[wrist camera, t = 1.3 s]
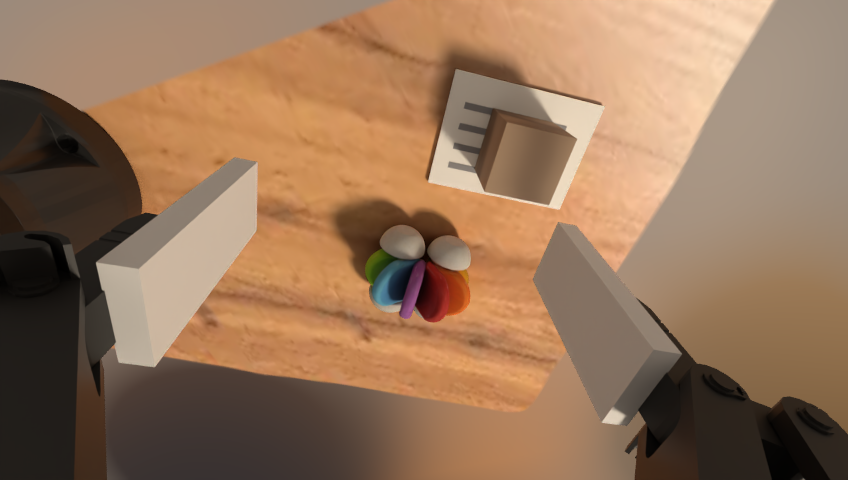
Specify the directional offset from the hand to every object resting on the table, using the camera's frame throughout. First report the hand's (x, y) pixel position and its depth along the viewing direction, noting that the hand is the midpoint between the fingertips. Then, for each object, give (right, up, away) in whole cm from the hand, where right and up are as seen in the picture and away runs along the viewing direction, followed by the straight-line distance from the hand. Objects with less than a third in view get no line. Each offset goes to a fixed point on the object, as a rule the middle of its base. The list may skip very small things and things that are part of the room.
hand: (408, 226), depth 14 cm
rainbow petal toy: (0, -3, +22) cm, 23 cm away
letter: (+8, +7, +17) cm, 20 cm away
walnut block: (+8, +7, +16) cm, 20 cm away
